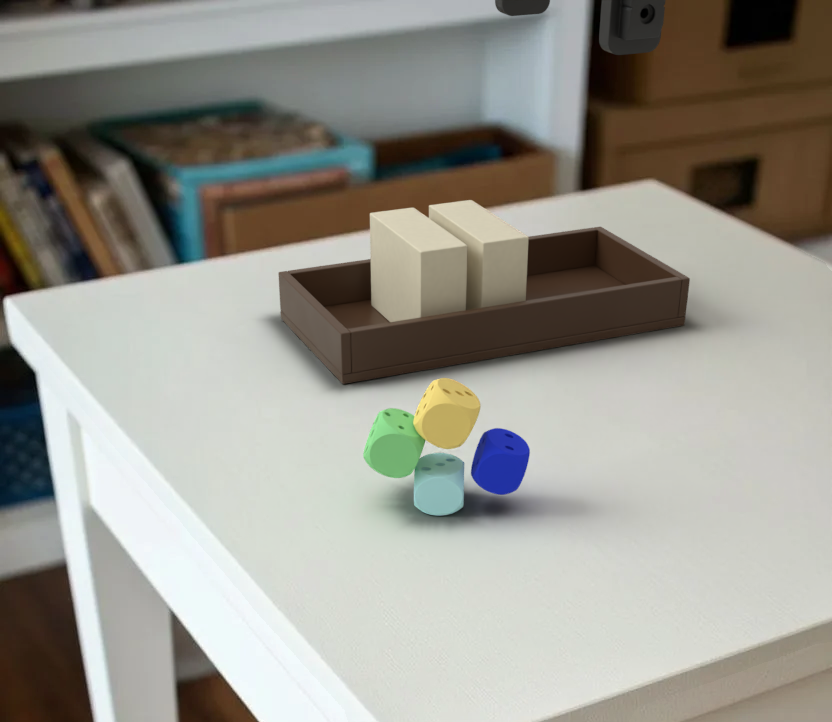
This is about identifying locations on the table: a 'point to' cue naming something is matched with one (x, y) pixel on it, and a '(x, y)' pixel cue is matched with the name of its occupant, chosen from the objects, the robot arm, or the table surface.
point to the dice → (445, 428)
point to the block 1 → (415, 266)
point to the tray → (487, 309)
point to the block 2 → (486, 253)
